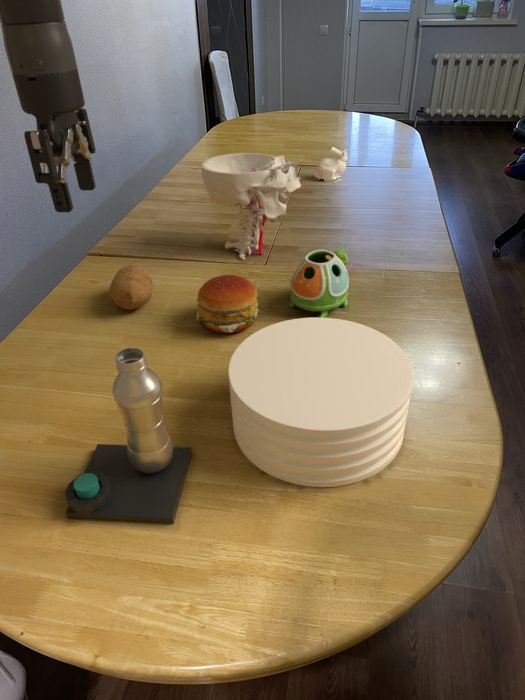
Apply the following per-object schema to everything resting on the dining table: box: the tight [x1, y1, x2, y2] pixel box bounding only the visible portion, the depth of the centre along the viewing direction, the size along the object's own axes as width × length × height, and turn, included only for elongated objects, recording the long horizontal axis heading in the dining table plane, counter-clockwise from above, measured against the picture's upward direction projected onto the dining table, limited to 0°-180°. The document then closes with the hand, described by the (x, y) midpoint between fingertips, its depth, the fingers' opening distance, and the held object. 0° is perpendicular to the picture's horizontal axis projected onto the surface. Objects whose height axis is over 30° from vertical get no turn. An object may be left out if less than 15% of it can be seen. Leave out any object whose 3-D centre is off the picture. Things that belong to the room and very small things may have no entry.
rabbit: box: [313, 146, 349, 183], centre depth 184 cm, size 12×9×12 cm
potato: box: [108, 264, 154, 311], centre depth 117 cm, size 10×14×8 cm
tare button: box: [74, 473, 100, 499], centre depth 72 cm, size 3×3×2 cm
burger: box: [196, 274, 260, 334], centre depth 109 cm, size 14×14×10 cm
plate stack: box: [227, 317, 414, 488], centre depth 83 cm, size 28×28×12 cm
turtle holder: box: [289, 248, 350, 318], centre depth 114 cm, size 12×18×12 cm
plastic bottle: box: [111, 347, 174, 473], centre depth 72 cm, size 6×7×20 cm
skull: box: [201, 152, 302, 261], centre depth 136 cm, size 25×19×23 cm
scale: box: [64, 443, 193, 525], centre depth 75 cm, size 16×13×3 cm
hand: (77, 200), depth 71 cm, fingers open, 8 cm apart
